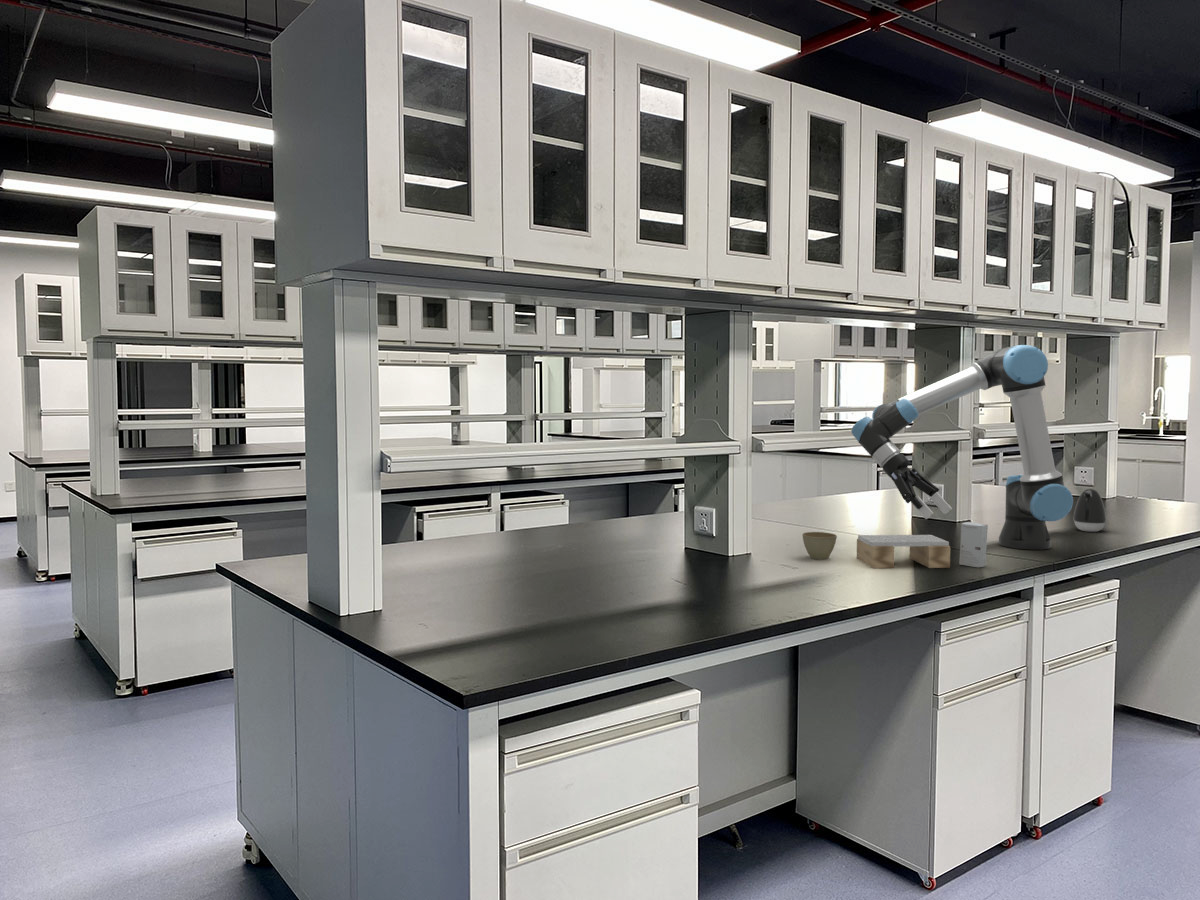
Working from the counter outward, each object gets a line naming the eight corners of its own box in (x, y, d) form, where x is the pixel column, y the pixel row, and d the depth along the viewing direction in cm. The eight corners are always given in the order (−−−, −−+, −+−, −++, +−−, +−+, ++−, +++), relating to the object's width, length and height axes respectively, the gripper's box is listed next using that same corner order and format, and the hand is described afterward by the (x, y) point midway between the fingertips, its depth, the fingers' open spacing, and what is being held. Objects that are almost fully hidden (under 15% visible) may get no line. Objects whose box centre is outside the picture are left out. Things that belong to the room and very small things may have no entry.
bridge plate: (931, 538, 247) (931, 534, 247) (948, 546, 235) (948, 541, 235) (858, 539, 247) (858, 535, 247) (871, 546, 235) (872, 542, 235)
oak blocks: (929, 558, 249) (929, 538, 248) (949, 567, 235) (950, 546, 234) (856, 558, 248) (856, 538, 248) (872, 568, 234) (873, 547, 234)
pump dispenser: (1068, 530, 298) (1069, 488, 297) (1078, 527, 305) (1079, 486, 304) (1100, 534, 291) (1101, 491, 290) (1109, 530, 298) (1111, 488, 297)
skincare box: (958, 565, 239) (959, 523, 238) (965, 562, 242) (966, 521, 241) (980, 568, 234) (981, 525, 233) (987, 566, 237) (988, 524, 236)
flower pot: (798, 559, 247) (799, 535, 246) (805, 553, 256) (806, 530, 255) (833, 562, 242) (833, 538, 242) (839, 556, 252) (839, 533, 251)
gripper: (900, 465, 264) (946, 517, 255) (863, 471, 246) (912, 526, 237) (917, 450, 260) (964, 501, 251) (881, 454, 242) (931, 510, 233)
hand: (939, 514), depth 244 cm, fingers open, 13 cm apart
